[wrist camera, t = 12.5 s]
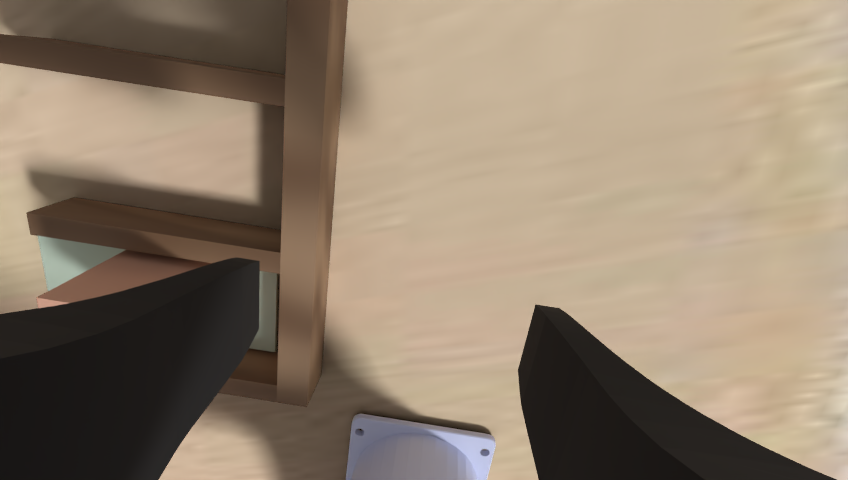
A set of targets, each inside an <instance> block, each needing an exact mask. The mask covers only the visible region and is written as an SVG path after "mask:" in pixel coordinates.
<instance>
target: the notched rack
mask: <svg viewBox="0 0 848 480" xmlns="http://www.w3.org/2000/svg"><path fill="white" fill-rule="evenodd" d="M347 5H348V0H287V32H286V69H285V75H283V74H276V73H270V72H263V71H257V70H250V69H244V68H237V67H231V66H224V65H218V64H211V63H205V62H198V61H192V60H186V59H179V58H173V57H166V56H160V55H153V54H147V53H140V52H134V51H127V50H121V49H114V48H108V47H101V46H95V45H88V44H82V43H75V42H69V41H62V40H56V39H48V38H37V37H26V36H15V35H4V34H0V63H4V64H11V65H17V66H24V67H30V68H37V69H43V70H50V71H56V72H63V73H69V74H76V75H82V76H89V77H95V78H101V79H108V80H114V81H121V82H127V83H134V84H140V85H147V86H153V87H160V88H166V89H173V90H179V91H186V92H192V93H198V94H205V95H211V96H218V97H224V98H231V99H237V100H244V101H250V102H257V103H263V104H270V105H276V106H283V107H284V144H283V182H282V220H281V230H278V229H271V228H265V227H259V226H252V225H246V224H240V223H233V222H227V221H221V220H214V219H208V218H202V217H195V216H189V215H183V214H176V213H170V212H163V211H157V210H151V209H144V208H138V207H132V206H125V205H119V204H113V203H106V202H100V201H94V200H87V199H81V198H71V199H68V200H64V201H61V202H58V203H55V204H52V205H49V206H46V207H43V208H40V209H37V210H33V211H30V212H27V218H28V223H29V229H30V234H31V235H37V236H38V241H39V246H40V251H41V256H42V262H43V267H44V272H45V278H46V283H47V288H48V291H50V290H52V289H53V288H55V287H57V286H59V285H61V284H63V283H65V282H67V281H68V280H70V279H72V278H74V277H76V276H78V275H80V274H82V273H83V272H85V271H87V270H89V269H91V268H93V267H95V266H97V265H98V264H100V263H102V262H104V261H106V260H108V259H110V258H112V257H113V256H115V255H117V254H119V253H121V252H123V251H125V250H132V251H138V252H144V253H150V254H157V255H163V256H169V257H176V258H182V259H188V260H195V261H201V262H207V263H215V262H218V261H222V260H226V259H230V258H236V257H238V258H244V259H250V260H257V261H260V292H259V330H258V332H257V334H256V336H255V338H254V340H253V342H252V343H251V345H250V347H249V349H248V351H247V352H246V354H245V356H244V358H243V360H242V361H241V362H240V364H239V365H238V367H237V368H236V369H235V371H234V372H233V373H232V375H231V376H230V377H229V379H228V380H227V381H226V383H225V384H224V386H223V387H222V388H221V389H220V391H219V392H218V393H223V394H230V395H236V396H242V397H248V398H254V399H261V400H267V401H273V402H279V403H285V404H292V405H298V406H304V407H307V406H308V403H309V401H310V399H311V396H312V394H313V392H314V390H315V387H316V385H317V383H318V381H319V378H320V376H321V372H322V358H323V344H324V330H325V316H326V301H327V287H328V273H329V259H330V245H331V231H332V217H333V203H334V188H335V174H336V160H337V146H338V132H339V118H340V104H341V90H342V76H343V61H344V47H345V33H346V19H347ZM278 274H280V295H279V332H278V352H275V351H276V345H277V305H278Z"/></svg>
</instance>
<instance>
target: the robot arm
mask: <svg viewBox="0 0 848 480" xmlns="http://www.w3.org/2000/svg"><path fill="white" fill-rule="evenodd" d="M259 292H260V261H257V260H250V259H244V258H238V257H236V258H230V259H226V260H222V261H218V262H215V263H212V264H208V265H205V266H202V267H199V268H196V269H193V270H190V271H187V272H184V273H180V274H177V275H174V276H171V277H168V278H165V279H162V280H158V281H155V282H151V283H148V284H144V285H141V286H137V287H134V288H130V289H127V290H124V291H120V292H116V293H112V294H108V295H104V296H100V297H96V298H91V299H86V300H81V301H77V302H72V303H67V304H62V305H57V306H50V307H44V308H38V309H31V310H25V311H18V312H12V313H5V314H0V480H158V479H159V478H160V476H161V474H162V473H163V471H164V470H165V468H166V466H167V465H168V463H169V461H170V460H171V458H172V456H173V455H174V453H175V451H176V450H177V448H178V447H179V445H180V444H181V442H182V441H183V439H184V438H185V436H186V435H187V433H188V432H189V431H190V429H191V428H192V427H193V425H194V424H195V423H196V421H197V420H198V419H199V417H200V416H201V415H202V413H203V412H204V411H205V409H206V408H207V407H208V405H209V404H210V403H211V401H212V400H213V399H214V397H215V396H216V395H217V393H218V392H219V391H220V389H221V388H222V387H223V386H224V384H225V383H226V381H227V380H228V379H229V377H230V376H231V375H232V373H233V372H234V371H235V369H236V368H237V367H238V365H239V364H240V362H241V361H242V360H243V358H244V356H245V354H246V352H247V351H248V349H249V347H250V345H251V343H252V342H253V340H254V338H255V336H256V334H257V332H258V330H259ZM518 375H519V387H520V397H521V406H522V410H523V415H524V419H525V423H526V428H527V432H528V436H529V440H530V445H531V449H532V453H533V457H534V461H535V465H536V470H537V474H538V478H539V480H836V479H834V478H831V477H829V476H827V475H824V474H822V473H819V472H817V471H814V470H812V469H810V468H808V467H805V466H803V465H801V464H799V463H797V462H795V461H793V460H790V459H788V458H786V457H784V456H782V455H780V454H778V453H776V452H773V451H771V450H769V449H767V448H765V447H763V446H761V445H759V444H757V443H755V442H753V441H751V440H749V439H747V438H745V437H743V436H741V435H739V434H737V433H736V432H734V431H732V430H730V429H728V428H726V427H725V426H723V425H721V424H719V423H717V422H716V421H714V420H712V419H710V418H708V417H707V416H705V415H703V414H701V413H700V412H698V411H696V410H695V409H693V408H691V407H690V406H688V405H686V404H685V403H683V402H682V401H680V400H679V399H677V398H676V397H674V396H672V395H671V394H669V393H668V392H666V391H665V390H663V389H662V388H660V387H659V386H657V385H656V384H654V383H653V382H651V381H650V380H649V379H647V378H646V377H645V376H643V375H642V374H641V373H639V372H638V371H637V370H635V369H634V368H633V367H631V366H630V365H629V364H627V363H626V362H625V361H623V360H622V359H621V358H620V357H618V356H617V355H616V354H615V353H613V352H612V351H611V350H610V349H608V348H607V347H606V346H605V345H604V344H602V343H601V342H600V341H599V340H598V339H597V338H595V337H594V336H593V335H592V334H591V333H590V332H588V331H587V330H586V329H585V328H584V327H583V326H581V325H580V324H579V323H578V322H577V321H575V320H574V319H573V318H572V317H571V316H569V315H568V314H567V313H565V312H564V311H563V310H561V309H559V308H554V307H548V306H541V305H535V309H534V313H533V316H532V320H531V324H530V327H529V331H528V335H527V339H526V342H525V346H524V350H523V354H522V357H521V361H520V365H519V369H518ZM358 429H362V430H363V431H360V430H358ZM495 445H496V444H495V439H494V437H493V436H492V435H490V434H485V433H479V432H473V431H466V430H460V429H454V428H448V427H442V426H435V425H429V424H423V423H417V422H411V421H404V420H398V419H392V418H386V417H380V416H373V415H367V414H357V415H355V416H354V418H353V421H352V425H351V435H350V444H349V453H348V463H347V472H346V480H487V477H488V473H489V469H490V465H491V462H492V458H493V454H494V450H495ZM482 449H487V450H484V451H483V450H482Z"/></svg>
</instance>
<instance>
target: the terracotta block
mask: <svg viewBox="0 0 848 480" xmlns="http://www.w3.org/2000/svg"><path fill="white" fill-rule="evenodd" d="M208 264H212V263H207V262H201V261H195V260H188V259H182V258H176V257H169V256H163V255H157V254H150V253H144V252H138V251H132V250H125V251H123V252H121V253H119V254H117V255H115V256H113V257H112V258H110V259H108V260H106V261H104V262H102V263H100V264H98V265H97V266H95V267H93V268H91V269H89V270H87V271H85V272H83V273H82V274H80V275H78V276H76V277H74V278H72V279H70V280H68V281H67V282H65V283H63V284H61V285H59V286H57V287H55V288H53V289H52V290H50V291H48V292H46V293H44V294H42V295H40V296H38V297H37V303H38V308H44V307H50V306H57V305H62V304H67V303H72V302H77V301H81V300H86V299H91V298H96V297H100V296H104V295H108V294H112V293H116V292H120V291H124V290H127V289H130V288H134V287H137V286H141V285H144V284H148V283H151V282H155V281H158V280H162V279H165V278H168V277H171V276H174V275H177V274H180V273H184V272H187V271H190V270H193V269H196V268H199V267H202V266H205V265H208Z"/></svg>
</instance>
